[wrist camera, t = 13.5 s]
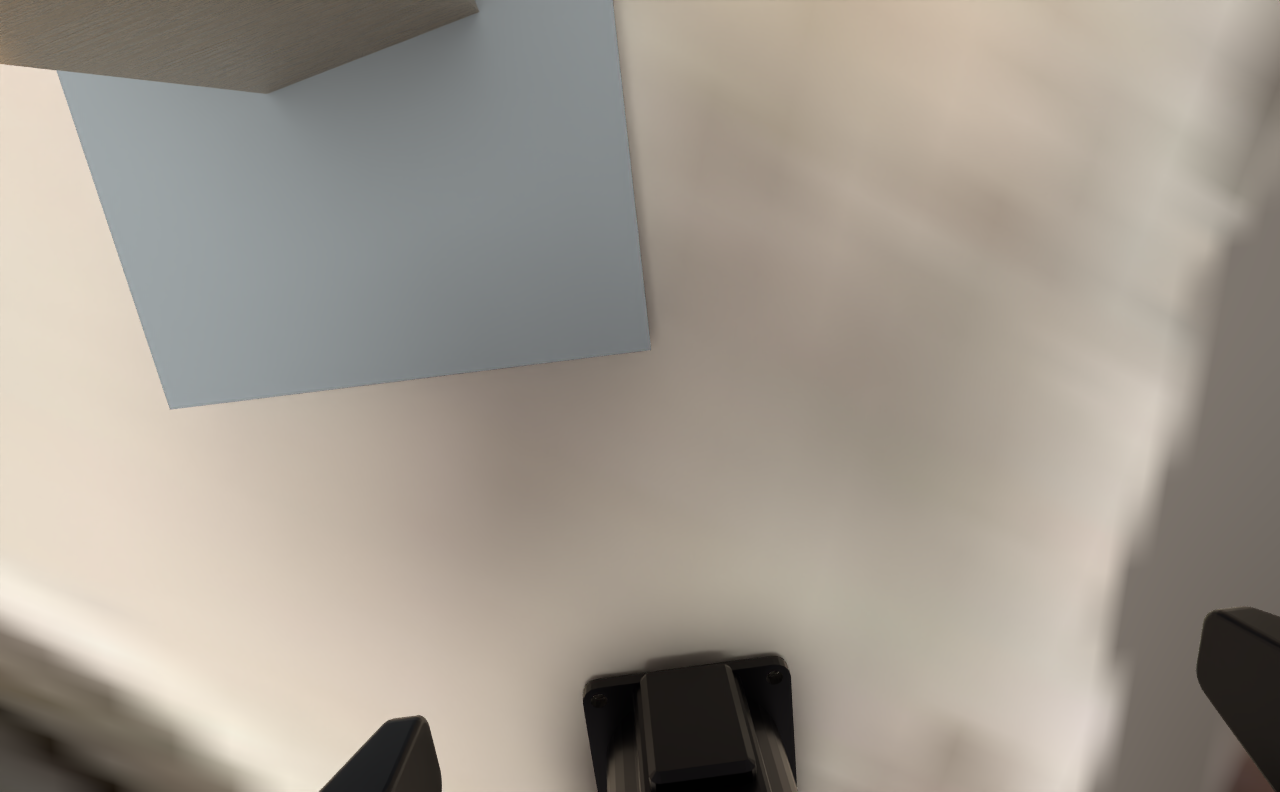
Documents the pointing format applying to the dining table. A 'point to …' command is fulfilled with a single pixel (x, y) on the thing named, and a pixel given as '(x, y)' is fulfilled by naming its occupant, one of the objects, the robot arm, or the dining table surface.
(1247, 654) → the robot arm
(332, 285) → the mat
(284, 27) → the gold metal block
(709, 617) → the dining table surface
